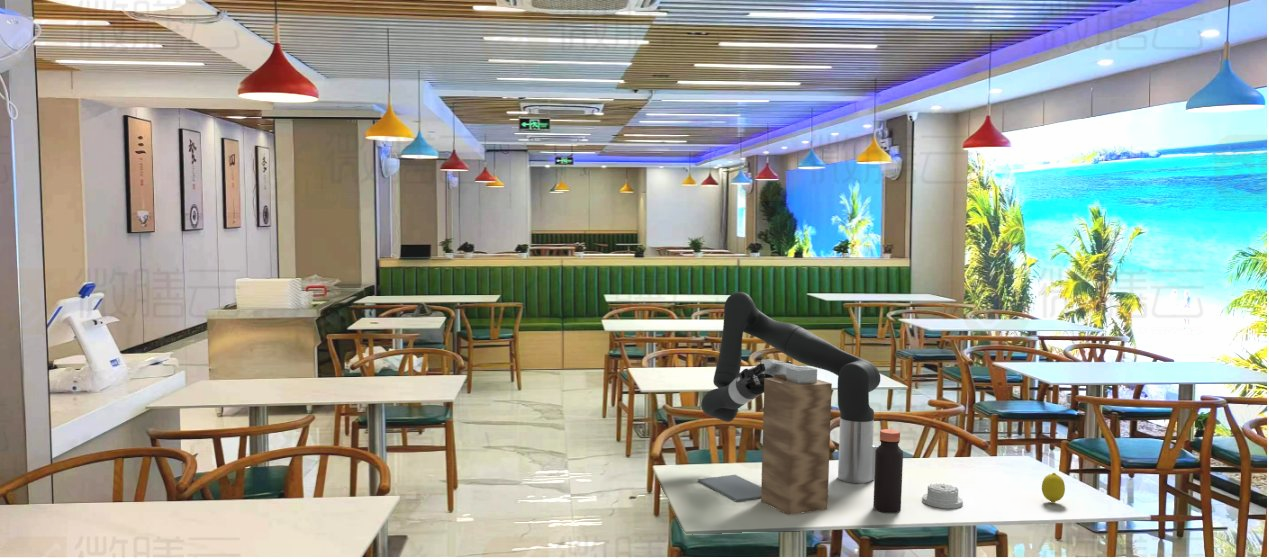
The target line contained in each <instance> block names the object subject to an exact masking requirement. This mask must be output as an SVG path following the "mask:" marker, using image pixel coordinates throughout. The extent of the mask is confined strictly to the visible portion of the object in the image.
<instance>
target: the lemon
mask: <svg viewBox="0 0 1269 559" xmlns="http://www.w3.org/2000/svg"><path fill="white" fill-rule="evenodd" d="M1041 483H1042V484H1041V492H1042V495H1043V497H1044V498H1045V499H1046V500H1048V501H1051V502H1054V503H1056V502H1059V501H1060V500H1061V499H1063V497H1064V495H1065V492H1066V487H1065V486H1066V485H1065V482H1064V479H1063V478H1062V476H1060V475H1058V474H1057V473H1056V472H1052V473H1049V474H1048V475H1046V476H1045V477H1044V478H1043V480H1042V482H1041ZM1051 502H1050V503H1051Z"/></svg>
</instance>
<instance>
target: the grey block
mask: <svg viewBox="0 0 1269 559" xmlns="http://www.w3.org/2000/svg"><path fill="white" fill-rule="evenodd" d="M786 362H787V361H781V360H779V359H774V358H769V359H768V358H766V359H761V362H760V363H764V366H765V371H764V372H763V373H765V374H768V375H772V376H774V375H776V374H778V375H781V376H785V377H786V381H788V382H791V383H795V384H809V383H817V380H818V368H815V367H811V366H810V367H809V366H807V365H805V366H803V365H802V366H800V365H797V364H793V363H792V364H790V363H786Z"/></svg>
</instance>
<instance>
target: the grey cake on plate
mask: <svg viewBox="0 0 1269 559" xmlns="http://www.w3.org/2000/svg"><path fill="white" fill-rule="evenodd" d="M921 500H922V503H924V504H925V505H928V506H931V507H935V508H938V509H939V508H941V509H959V508H961V507H962V506H963V504H964V502H963V498H961V497H960V496H959V488H958V487H957V486H953V485H951V484H945V483H933V484H932V483H930V484H929V485H928V486H927V493H925V494H923V495H922V498H921Z"/></svg>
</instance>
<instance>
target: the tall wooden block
mask: <svg viewBox="0 0 1269 559" xmlns="http://www.w3.org/2000/svg"><path fill="white" fill-rule="evenodd" d="M832 385H833V384H832V383H831V382H828V381H824V380H822V379H821V380H820V379H817V383H809V384H795V383H791V382H788V381H786V377H785V376H781V375H778V374H776V375H774V378H764V392H763V417H762V418H763V419H762V449H761V450H762V452H761V453H762V454H761V484H760V485H761V486H760V487H761V499H760V501H762V502H761V503H763V502H764V504H765V503H766V504H765V505H767V504H768V506H769V505H770V507H771V506H772V508H773V507H774V509H775V508H776V509H775V510H777V509H778V511H779V510H780V511H779V512H781V513H783V512H784V513H783V514H785V513H786V515H787V516H789V515H790V516H791V515H797V514H802V512H805V513H811V512H817V510H818V511H823V510H828V506H829V505H828V503H829V501H828V500H829V478H830V477H829V474H830V449H831V448H830V445H831V442H830V441H831V419H832V417H831V416H832V414H831V412H832ZM810 511H811V512H810Z"/></svg>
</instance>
